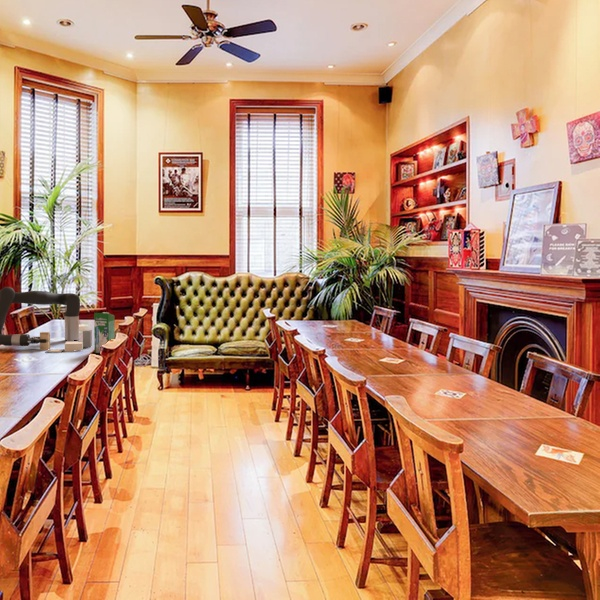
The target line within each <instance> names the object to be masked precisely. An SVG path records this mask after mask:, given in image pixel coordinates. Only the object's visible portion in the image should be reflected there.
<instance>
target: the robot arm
mask: <svg viewBox="0 0 600 600" xmlns="http://www.w3.org/2000/svg"><path fill="white" fill-rule="evenodd" d="M12 304H25V305H26V304H27V305H38V306H39V305H40V306H42V305H44V306H45V305H47V306H48V305H62V306H66V307H65V308H66V309H65V311H64V341H65V340H67V341H66V342H71V341H74V340H78V341H80V315H79V314H80V311H81V298H80V296H79V295H78V294H76V293H72V292H67V293H55V292H51V291H44V290H43V291H42V290H30V291H22V292H21V291H20V292H17V291H15V290H14V288H13V287H11V286H5V287H2V288H1V289H0V345H2V346H5V347H29V346H30V345H33V344H40V343H46V342H47V340H46V339H40V336H31V335H30V334H28V333H26V334H24V333H21V334H20V333H18V334H17V333H16V334H2V333H3V328H4V326H5V322H6V318H7V314H8V312H9V309H10V307H11V305H12Z"/></svg>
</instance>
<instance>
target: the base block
mask: <svg viewBox="0 0 600 600" xmlns="http://www.w3.org/2000/svg"><path fill="white" fill-rule="evenodd" d="M82 349H83V350H84V348H83V340H78V341H65V343H64V352H75V351H74V350H82ZM83 350H82V351H83Z"/></svg>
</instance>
